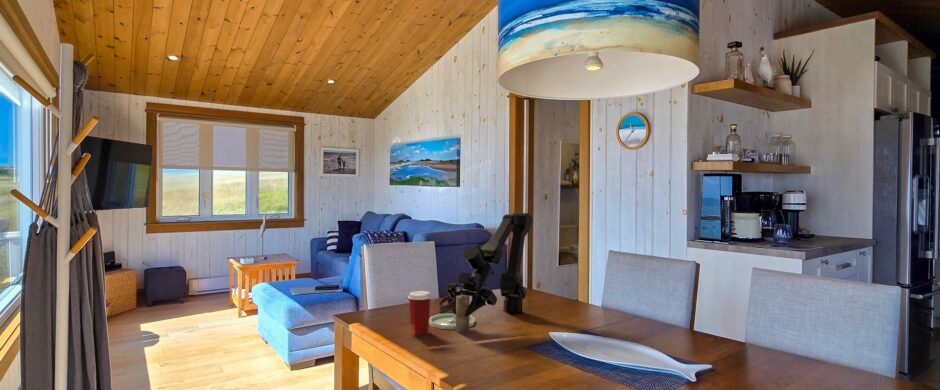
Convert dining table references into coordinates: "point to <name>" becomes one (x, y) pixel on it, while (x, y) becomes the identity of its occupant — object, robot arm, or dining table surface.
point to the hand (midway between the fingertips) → (460, 315)
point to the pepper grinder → (462, 314)
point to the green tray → (447, 321)
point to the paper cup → (419, 312)
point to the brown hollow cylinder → (449, 306)
